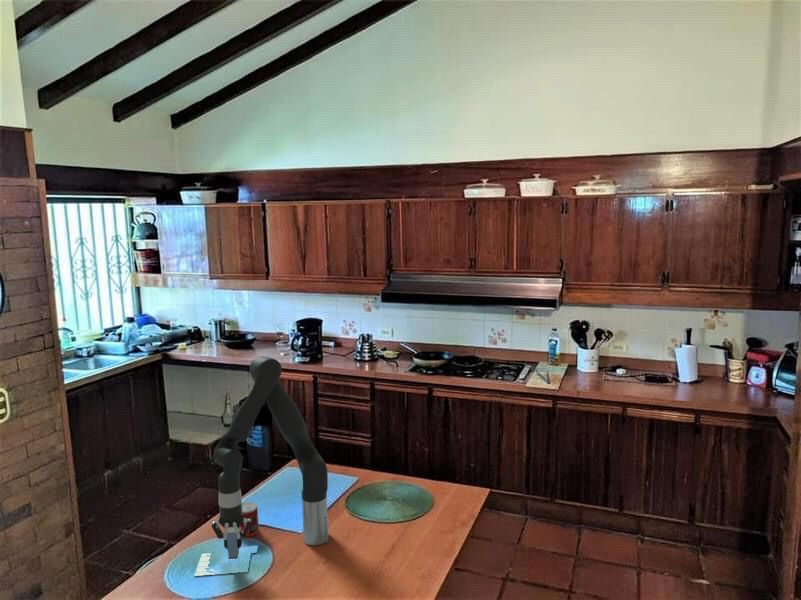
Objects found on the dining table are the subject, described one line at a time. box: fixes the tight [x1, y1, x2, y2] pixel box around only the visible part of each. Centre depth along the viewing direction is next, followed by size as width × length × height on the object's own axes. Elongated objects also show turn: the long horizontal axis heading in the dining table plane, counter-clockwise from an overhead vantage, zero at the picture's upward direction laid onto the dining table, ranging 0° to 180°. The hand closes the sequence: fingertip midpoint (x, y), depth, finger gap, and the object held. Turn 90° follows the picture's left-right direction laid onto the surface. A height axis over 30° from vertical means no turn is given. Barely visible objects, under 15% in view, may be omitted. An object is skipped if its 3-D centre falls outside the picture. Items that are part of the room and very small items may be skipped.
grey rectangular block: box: [227, 526, 239, 559], centre depth 209 cm, size 3×3×12 cm
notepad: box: [193, 552, 219, 578], centre depth 213 cm, size 18×13×1 cm
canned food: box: [240, 501, 260, 539], centre depth 232 cm, size 8×8×11 cm
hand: (233, 547), depth 209 cm, fingers closed on grey rectangular block, 3 cm apart
